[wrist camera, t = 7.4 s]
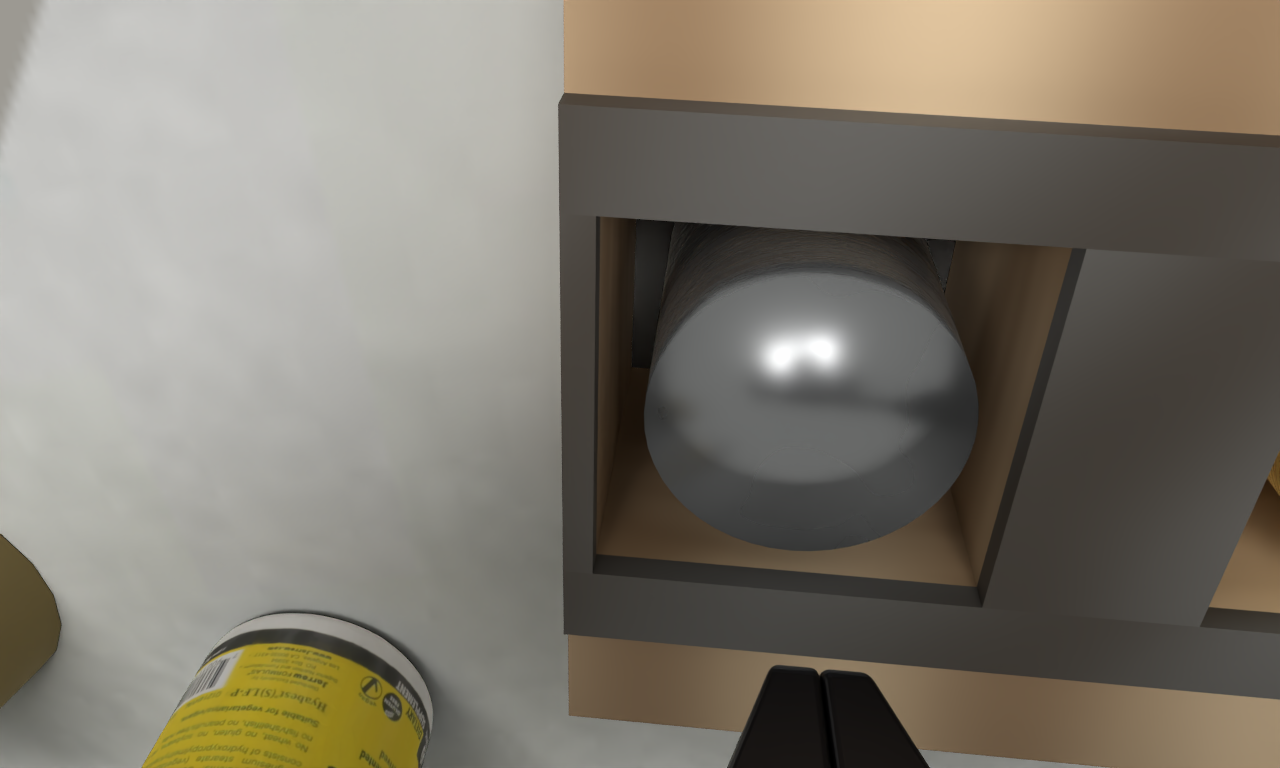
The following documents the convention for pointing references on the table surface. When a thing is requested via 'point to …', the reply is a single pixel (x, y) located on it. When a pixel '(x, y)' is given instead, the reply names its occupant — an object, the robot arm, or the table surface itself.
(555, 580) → the table surface
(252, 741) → the supplement bottle
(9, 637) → the olive brown pepper mill
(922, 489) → the steel plunger
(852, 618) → the socket board
